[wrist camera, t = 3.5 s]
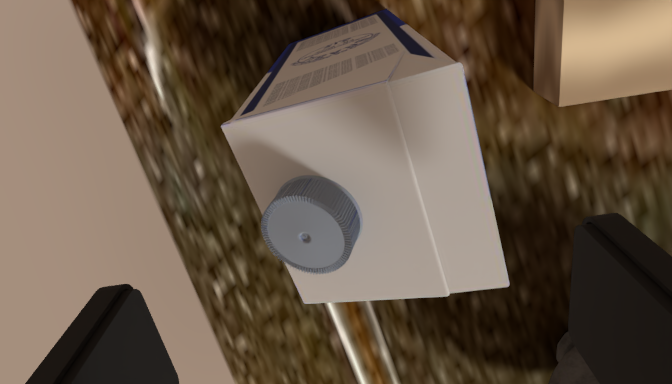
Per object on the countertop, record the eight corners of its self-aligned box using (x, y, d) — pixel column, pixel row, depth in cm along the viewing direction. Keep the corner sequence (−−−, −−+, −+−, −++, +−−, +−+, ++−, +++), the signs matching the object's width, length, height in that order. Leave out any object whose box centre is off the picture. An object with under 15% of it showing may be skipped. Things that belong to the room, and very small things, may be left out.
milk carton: (414, 110, 31) (513, 293, 13) (323, 139, 32) (299, 346, 14) (386, 5, 28) (463, 59, 10) (287, 41, 29) (200, 147, 11)
